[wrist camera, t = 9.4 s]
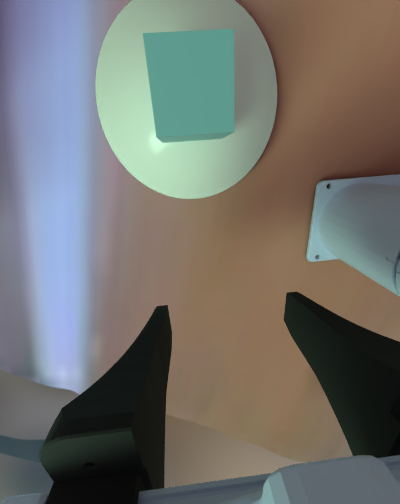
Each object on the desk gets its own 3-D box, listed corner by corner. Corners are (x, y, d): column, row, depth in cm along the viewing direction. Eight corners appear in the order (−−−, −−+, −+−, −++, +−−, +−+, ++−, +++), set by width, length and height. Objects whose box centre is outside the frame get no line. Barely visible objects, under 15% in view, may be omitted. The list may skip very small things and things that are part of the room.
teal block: (219, 65, 15) (234, 28, 11) (221, 138, 17) (234, 132, 12) (153, 68, 15) (142, 33, 10) (162, 143, 16) (156, 137, 12)
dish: (277, -10, 14) (284, -24, 13) (266, 190, 20) (271, 192, 18) (79, -1, 14) (70, -15, 13) (122, 202, 19) (118, 205, 18)
